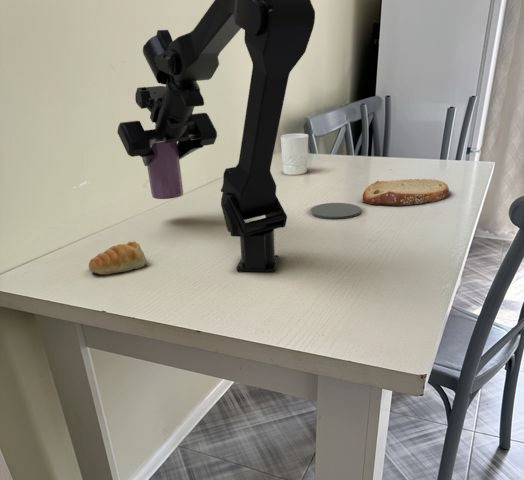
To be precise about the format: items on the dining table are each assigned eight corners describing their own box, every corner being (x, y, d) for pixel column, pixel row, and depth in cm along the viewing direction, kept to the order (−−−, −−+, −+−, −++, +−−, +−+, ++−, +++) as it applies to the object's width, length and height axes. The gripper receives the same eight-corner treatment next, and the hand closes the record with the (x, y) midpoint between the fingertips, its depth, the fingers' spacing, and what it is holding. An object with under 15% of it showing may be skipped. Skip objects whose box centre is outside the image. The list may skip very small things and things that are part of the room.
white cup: (276, 172, 150) (275, 135, 145) (300, 168, 152) (300, 132, 147) (289, 176, 144) (288, 138, 138) (313, 173, 146) (313, 135, 141)
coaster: (361, 219, 107) (361, 216, 106) (308, 219, 108) (308, 216, 108) (360, 204, 116) (360, 202, 116) (312, 205, 118) (312, 202, 117)
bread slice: (451, 190, 123) (454, 174, 121) (438, 210, 109) (440, 193, 108) (378, 185, 130) (379, 170, 128) (357, 204, 117) (358, 187, 115)
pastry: (99, 280, 84) (94, 258, 82) (84, 270, 89) (78, 249, 87) (150, 265, 89) (146, 244, 87) (132, 256, 94) (129, 236, 92)
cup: (176, 199, 104) (168, 142, 99) (146, 198, 106) (137, 142, 100) (188, 191, 110) (181, 136, 104) (160, 191, 111) (152, 137, 106)
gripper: (204, 66, 98) (184, 124, 111) (110, 73, 89) (101, 135, 102) (228, 114, 96) (206, 167, 110) (136, 125, 87) (123, 181, 101)
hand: (160, 161), depth 106 cm, fingers closed on cup, 7 cm apart
